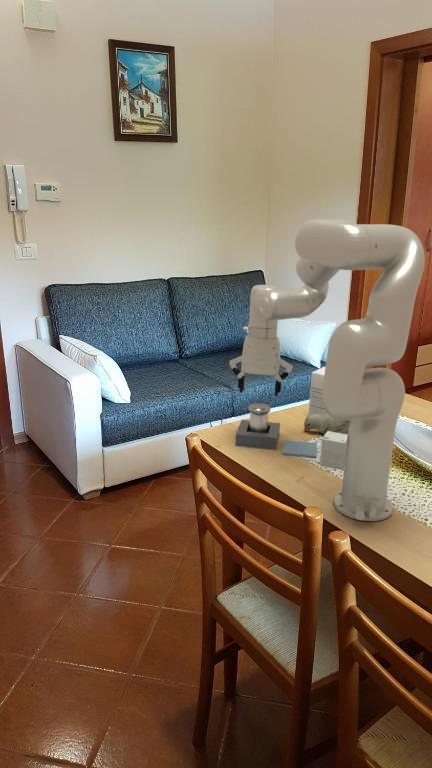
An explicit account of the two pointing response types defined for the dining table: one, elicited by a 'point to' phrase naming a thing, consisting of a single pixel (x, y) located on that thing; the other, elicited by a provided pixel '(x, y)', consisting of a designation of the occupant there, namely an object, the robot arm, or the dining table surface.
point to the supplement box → (317, 393)
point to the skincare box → (333, 449)
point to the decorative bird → (326, 424)
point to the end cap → (259, 417)
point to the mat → (300, 449)
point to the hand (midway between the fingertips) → (259, 392)
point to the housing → (257, 436)
